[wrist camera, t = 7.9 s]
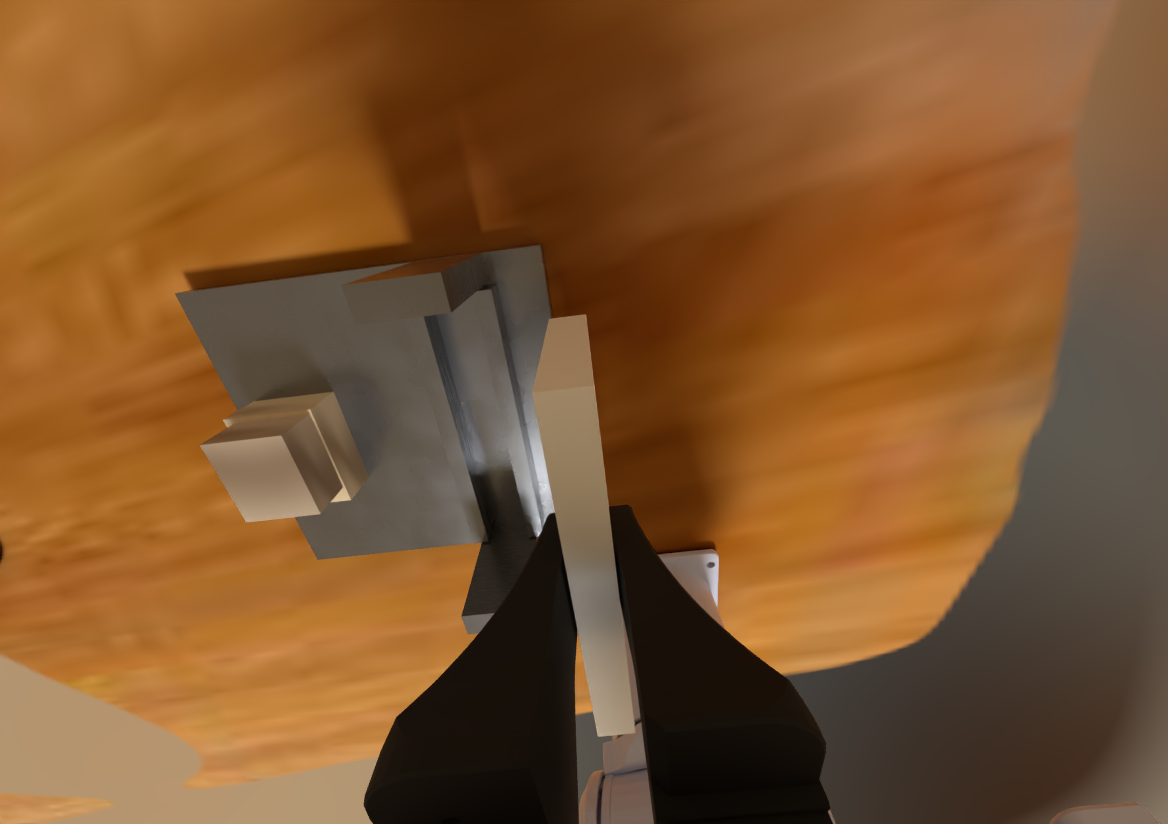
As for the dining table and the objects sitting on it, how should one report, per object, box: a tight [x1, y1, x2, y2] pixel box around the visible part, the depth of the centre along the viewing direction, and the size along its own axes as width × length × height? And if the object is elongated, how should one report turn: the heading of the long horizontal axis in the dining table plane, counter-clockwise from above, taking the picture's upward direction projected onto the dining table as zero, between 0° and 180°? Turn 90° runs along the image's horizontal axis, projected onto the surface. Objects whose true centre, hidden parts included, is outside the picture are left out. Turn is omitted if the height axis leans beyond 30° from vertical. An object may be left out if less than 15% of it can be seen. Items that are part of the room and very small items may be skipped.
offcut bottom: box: [223, 392, 369, 502], centre depth 21 cm, size 5×4×2 cm
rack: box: [175, 244, 555, 634], centre depth 19 cm, size 16×16×7 cm
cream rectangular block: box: [532, 314, 635, 737], centre depth 13 cm, size 12×1×6 cm, turn 7°
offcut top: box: [200, 414, 343, 522], centre depth 19 cm, size 4×3×2 cm
